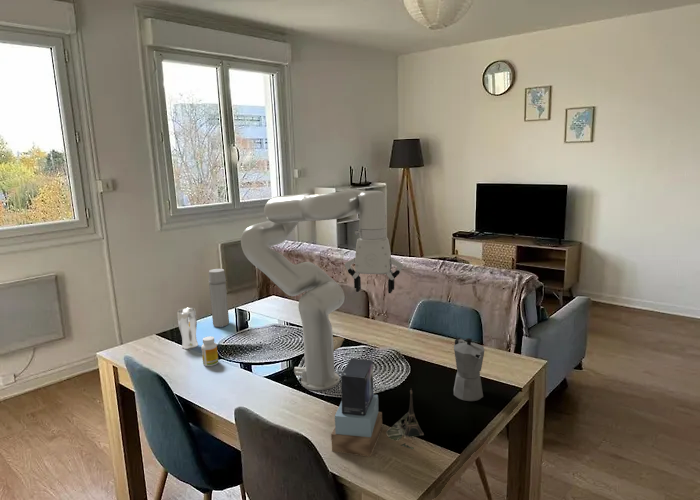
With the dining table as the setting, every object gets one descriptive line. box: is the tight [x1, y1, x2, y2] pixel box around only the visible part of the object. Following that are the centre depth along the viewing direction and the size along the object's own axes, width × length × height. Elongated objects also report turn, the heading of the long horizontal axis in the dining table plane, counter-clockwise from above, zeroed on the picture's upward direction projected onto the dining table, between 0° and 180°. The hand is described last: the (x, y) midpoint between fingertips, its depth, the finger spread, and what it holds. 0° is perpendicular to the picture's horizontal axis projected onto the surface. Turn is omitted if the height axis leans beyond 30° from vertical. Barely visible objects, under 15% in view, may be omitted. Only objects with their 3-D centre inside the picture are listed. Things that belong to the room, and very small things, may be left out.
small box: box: [340, 357, 374, 416], centre depth 125 cm, size 11×6×10 cm, turn 166°
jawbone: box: [333, 336, 345, 351], centre depth 188 cm, size 9×20×2 cm, turn 5°
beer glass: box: [176, 307, 199, 350], centre depth 192 cm, size 7×7×15 cm
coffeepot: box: [453, 337, 485, 402], centre depth 148 cm, size 15×9×18 cm, turn 13°
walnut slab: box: [330, 411, 383, 458], centre depth 127 cm, size 10×13×5 cm
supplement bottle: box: [200, 335, 219, 367], centre depth 176 cm, size 5×5×10 cm
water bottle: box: [207, 268, 230, 328], centre depth 214 cm, size 9×8×25 cm
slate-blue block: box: [334, 394, 379, 437], centre depth 126 cm, size 9×12×5 cm
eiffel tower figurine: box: [385, 389, 425, 450], centre depth 129 cm, size 15×10×13 cm
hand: (374, 291), depth 143 cm, fingers open, 9 cm apart
